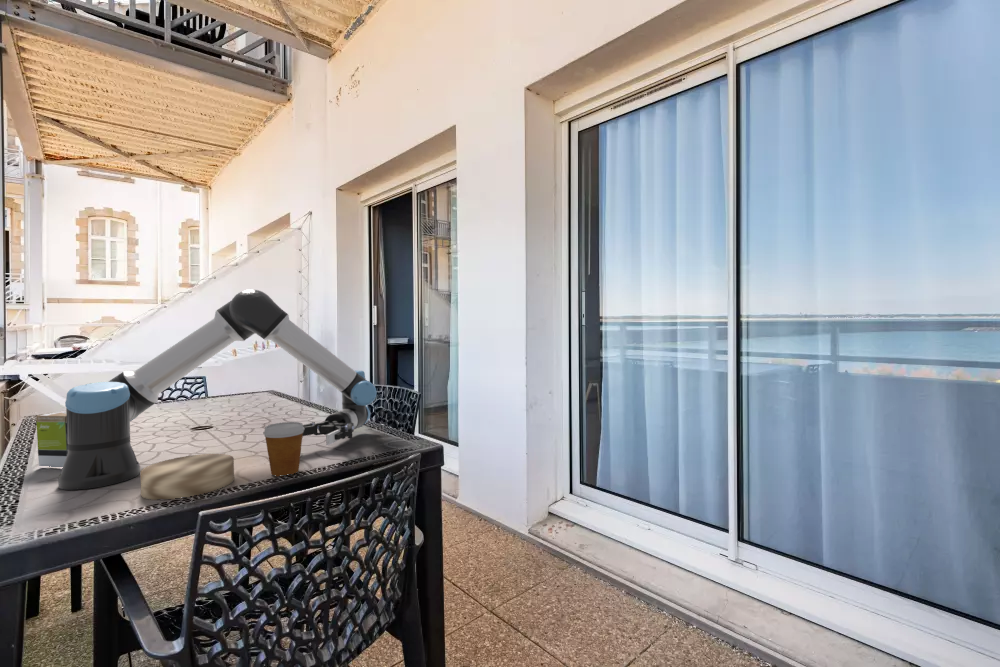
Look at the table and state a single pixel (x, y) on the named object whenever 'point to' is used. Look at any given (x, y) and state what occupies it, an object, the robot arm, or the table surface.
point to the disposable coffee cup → (284, 447)
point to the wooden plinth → (187, 476)
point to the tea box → (52, 439)
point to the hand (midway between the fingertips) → (303, 439)
